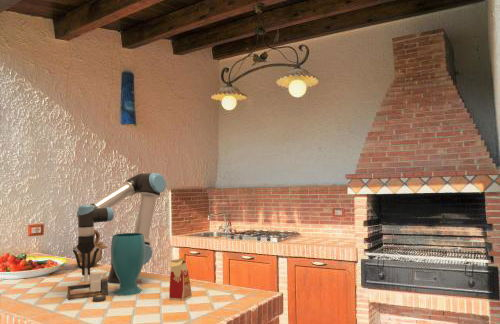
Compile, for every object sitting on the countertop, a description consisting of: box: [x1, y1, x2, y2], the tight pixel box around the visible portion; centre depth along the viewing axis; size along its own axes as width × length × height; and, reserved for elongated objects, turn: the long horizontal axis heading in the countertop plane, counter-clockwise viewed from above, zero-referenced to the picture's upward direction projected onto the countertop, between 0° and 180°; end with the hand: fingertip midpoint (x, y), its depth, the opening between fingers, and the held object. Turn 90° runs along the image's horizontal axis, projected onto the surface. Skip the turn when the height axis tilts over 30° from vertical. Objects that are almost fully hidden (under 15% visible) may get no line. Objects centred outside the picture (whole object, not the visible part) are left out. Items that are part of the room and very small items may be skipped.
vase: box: [110, 232, 145, 296], centre depth 236 cm, size 17×17×30 cm
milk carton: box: [168, 257, 193, 301], centre depth 222 cm, size 9×9×20 cm
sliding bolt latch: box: [66, 278, 109, 301], centre depth 228 cm, size 19×7×7 cm, turn 116°
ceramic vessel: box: [72, 228, 108, 268], centre depth 309 cm, size 18×19×25 cm
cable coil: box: [92, 295, 107, 303], centre depth 219 cm, size 6×6×2 cm
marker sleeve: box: [88, 271, 102, 292], centre depth 230 cm, size 5×4×8 cm
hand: (85, 281), depth 228 cm, fingers closed
